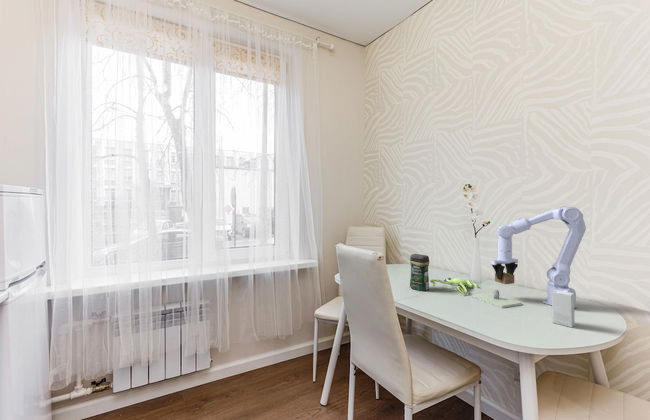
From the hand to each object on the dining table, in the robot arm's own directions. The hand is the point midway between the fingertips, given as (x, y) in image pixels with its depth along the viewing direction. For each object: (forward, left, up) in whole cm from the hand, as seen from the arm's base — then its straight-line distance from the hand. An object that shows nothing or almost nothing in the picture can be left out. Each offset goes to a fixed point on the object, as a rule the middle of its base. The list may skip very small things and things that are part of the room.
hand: (504, 278), depth 139 cm
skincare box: (-29, +5, -10) cm, 31 cm away
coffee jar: (+27, +28, -10) cm, 40 cm away
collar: (0, 0, -2) cm, 2 cm away
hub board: (-1, +6, -10) cm, 11 cm away
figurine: (+21, +10, -10) cm, 26 cm away
